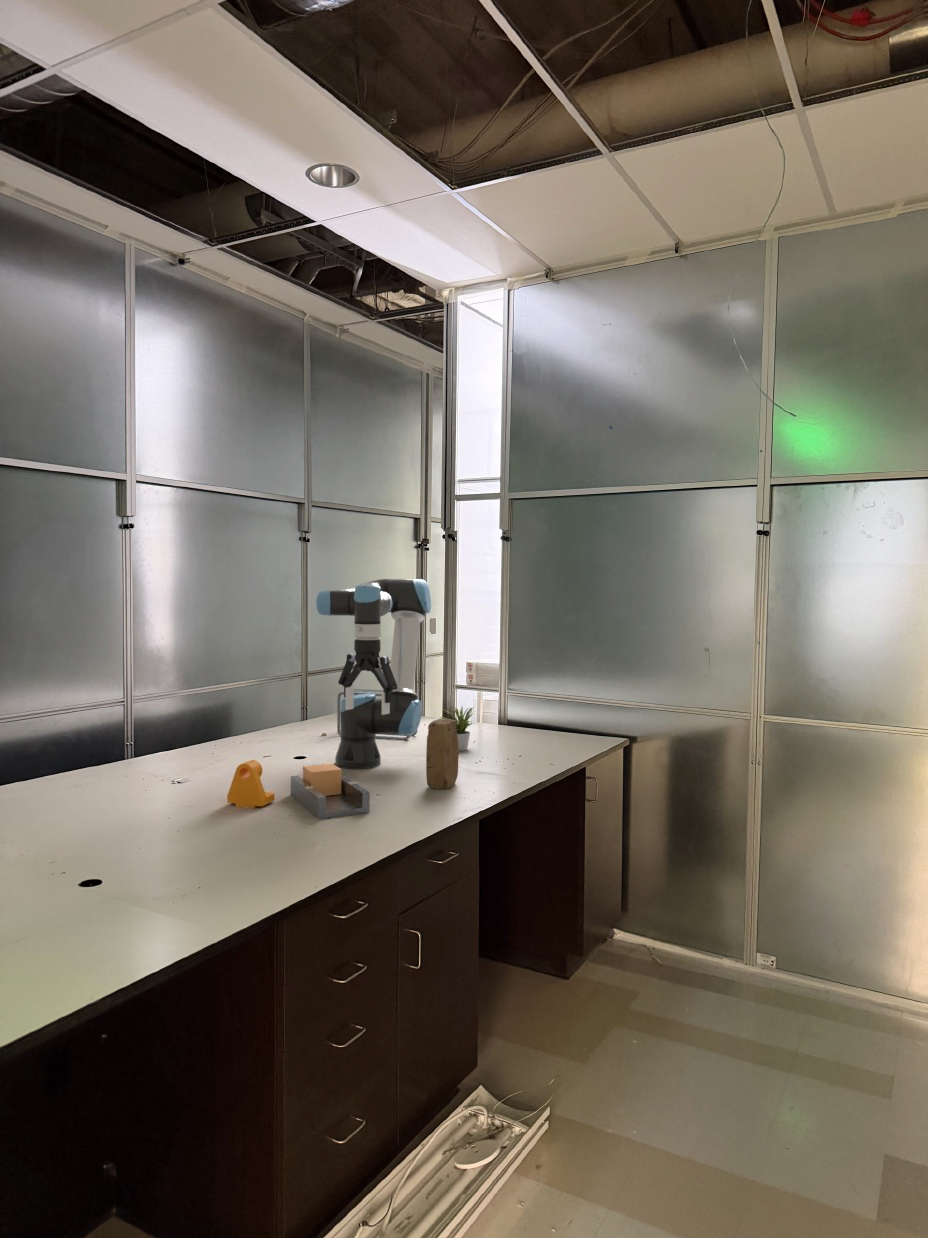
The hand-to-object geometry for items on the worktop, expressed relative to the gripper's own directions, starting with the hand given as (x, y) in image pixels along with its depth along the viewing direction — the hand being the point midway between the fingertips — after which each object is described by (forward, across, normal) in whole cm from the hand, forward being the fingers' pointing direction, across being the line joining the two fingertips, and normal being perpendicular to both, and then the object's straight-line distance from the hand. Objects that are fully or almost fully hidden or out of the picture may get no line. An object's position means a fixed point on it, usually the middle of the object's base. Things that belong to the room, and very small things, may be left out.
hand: (367, 711), depth 238 cm
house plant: (+24, -12, +67) cm, 72 cm away
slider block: (+22, -6, -13) cm, 26 cm away
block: (+24, +14, +19) cm, 33 cm away
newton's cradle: (+24, -52, +67) cm, 88 cm away
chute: (+24, 0, -16) cm, 28 cm away
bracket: (+24, -18, -28) cm, 41 cm away
